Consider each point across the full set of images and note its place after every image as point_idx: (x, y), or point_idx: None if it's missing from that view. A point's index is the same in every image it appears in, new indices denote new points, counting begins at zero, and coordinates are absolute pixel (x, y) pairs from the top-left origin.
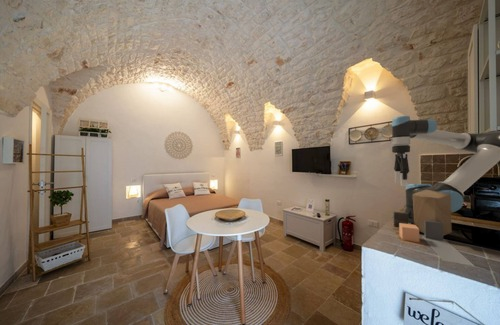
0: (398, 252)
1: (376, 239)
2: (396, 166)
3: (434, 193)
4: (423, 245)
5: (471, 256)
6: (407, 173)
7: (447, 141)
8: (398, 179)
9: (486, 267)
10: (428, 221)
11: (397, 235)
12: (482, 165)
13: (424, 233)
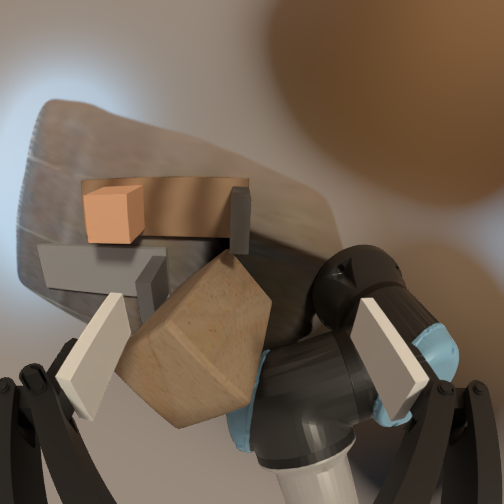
0: (42, 167)
1: (95, 116)
2: (410, 456)
3: (180, 400)
4: None
5: None
6: (78, 414)
7: None
8: (367, 339)
9: (67, 305)
10: (138, 290)
11: (135, 178)
12: None
13: (161, 260)
